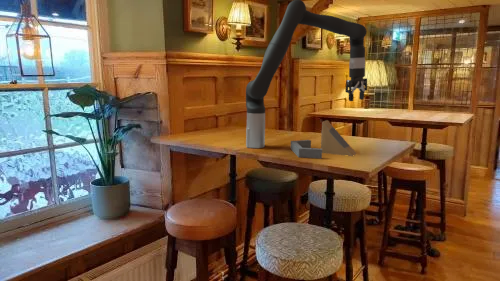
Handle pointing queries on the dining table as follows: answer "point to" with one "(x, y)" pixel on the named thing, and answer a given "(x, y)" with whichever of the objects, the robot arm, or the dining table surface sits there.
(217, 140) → the dining table surface
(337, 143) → the sandwich container
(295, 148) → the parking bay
